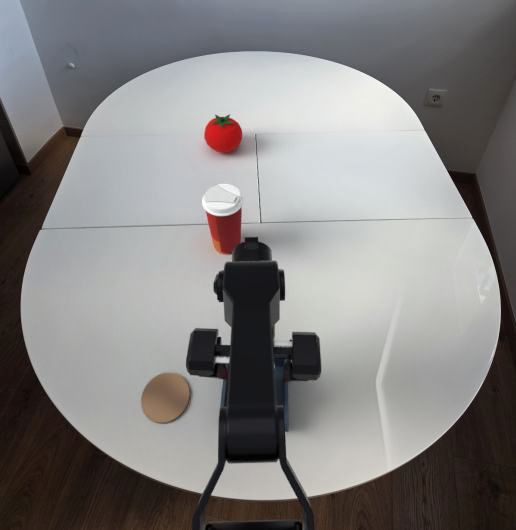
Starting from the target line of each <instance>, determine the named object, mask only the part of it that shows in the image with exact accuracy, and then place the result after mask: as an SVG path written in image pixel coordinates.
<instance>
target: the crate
mask: <svg viewBox="0 0 516 530" xmlns="http://www.w3.org/2000/svg"><path fill="white" fill-rule="evenodd" d="M227 358H228V357H227ZM285 363H286V359H274V364H275V385H276V400H277V405H283V407H284V418H285V432H289V382H283V370H284V366H285ZM226 367H227V379H226V380H222V385H221V386H222V387H221V395H220V396H221V397H220V404H219V408H220V407H227V391H228V374H229V364H226Z"/></svg>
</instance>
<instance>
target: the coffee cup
mask: <svg viewBox="0 0 516 530" xmlns="http://www.w3.org/2000/svg"><path fill="white" fill-rule="evenodd" d="M201 202H202V207H203V209H204V210H205V215H206V220H207V223H208V228H209V233H210V236H211V237H210V238H211V242H212V245H213V248H214V250H215V251H216V252H217V253H219V254H221V255H232V250H233V249H234V247H235V246H237V245H238V244H240V243H242V241H241V239H242V217H243V215H242V214H243V213H242V207H243V205H244V196H243V194H242V193H241V191H240V190H239V189H238V188H237V187H236V186H235V185H233V184H229V183H219V184H215V185H213V186H211V187H209V188H208V189H207V190H206V191H205V193H204V195H203V196H202V199H201Z"/></svg>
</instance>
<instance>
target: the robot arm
mask: <svg viewBox="0 0 516 530" xmlns="http://www.w3.org/2000/svg"><path fill="white" fill-rule="evenodd" d="M285 275H286V274H285V270H284V269H283V268H279V263H278V261H277V260H273V252H272V249H271V247H270V246H269V245H268V244H266V243H265V242H262V241H259V236H244V241H241V242H240V244H238V245H237V246H235V247H234V249H233V250H232V254H231V261H226V262H225V263H224V264H223V269H222V270H219V271H218V273H216V275H215V277H214V281H213V289H212V290H213V293H214V294H215V295H216V300H217V301H218V303H223V313H224V314H223V316H224V317H223V318H224V322H225V323H226V324H227V325H228V326H229V327H230V340H229V341H230V342H229V343H230V344H222V343H223V342H222V336H219V334H220V333H219V332H220V331H219V328H206V327H205V328H202V327H195V328H194V329H193V330H192V331H191V332H190V335H189V340H188V346H187V351H186V352H187V354H186V358H185V369H186V372H187V373H188V374H189V376H193V377H195V376H197V377H199V378H209V379H216V380H222V381H223V380H226V379H227V367H226V364H229V374H228V391H227V407H220V406H219V413H218V429H217V432H218V433H217V463H216V465H215V467H214V470H213V472H212V473H211V476H210V478H209V479H208V481H207V484H206V486H205V488H204V490H203V492H202V494H201V496H200V497H199V500H198V503H197V504H196V507H195V509H194V512H193V515H192V519H191V522H192V523H191V530H315V529H316V528H315V516H314V511H313V508H312V506H311V502H310V500H309V498H308V494H307V493H306V491H305V489H304V486H303V485H302V483H301V482H300V480H299V478H298V476H297V475H296V472H295V470H294V468H293V467H292V465H291V463H290V462H289V460H288V457H287V443H286V442H287V440H286V439H287V438H286V437H287V436H286V431H285V418H284V407H283V405H277V400H276V385H275V370H274V359H286V363H285V366H284V370H283V382H288V383H296V382H309V381H317V380H319V379H320V378H321V374H322V357H321V356H322V355H321V353H322V352H321V340H320V336H319V335H318V334H317V332H315V331H292V332H291V339H289V340H275V338H276V324H277V323H278V322H279V321H280V320H281V302H284V301H286V276H285ZM227 357H228V358H227ZM278 461H279V465H280V469H281V470H282V473H283V474H284V476H285V478H286V480H287V481H288V483H289V485H290V488H291V489H292V491H293V494H294V495H295V497H296V498H297V500H298V502H299V504H300V506H301V513H302V514H301V516H302V522H301V520H299V519H297V518H294V519H260V520H228V521H227V520H225V521H222V520H221V521H208V523H206V506H207V504H208V502H209V500H210V498H211V496H212V494H213V492H214V490H215V488H216V486H217V484H218V482H219V480H220V477H221V476H222V474H223V472H224V469H225V467H226V463H228V464H229V465H230V464H267V463H268V464H269V463H278Z"/></svg>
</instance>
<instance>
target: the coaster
mask: <svg viewBox="0 0 516 530" xmlns="http://www.w3.org/2000/svg"><path fill="white" fill-rule="evenodd" d="M190 392H191V391H190V387H189V385H188V383H187V380H186V379H185V378H184V377H183V376H182V375H180V374H178V373H176V372H162V373H159V374H157V375H155V376H154V377H153V378H151V379H150V381H148V382H147V384H146V385H145V387H144V389H143V391H142V394H141V398H140V405H141V410H142V412H143V414H144V416H145V417H146V418H147V419H148V420H150V421H151V422H153V423H156V424H168V423H171V422H173V421H175V420H177V419H178V418H179V417H181V415H182V414H183V413H184V412H185V410H186V409H187V407H188V404H189V402H190V397H191V393H190Z"/></svg>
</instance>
